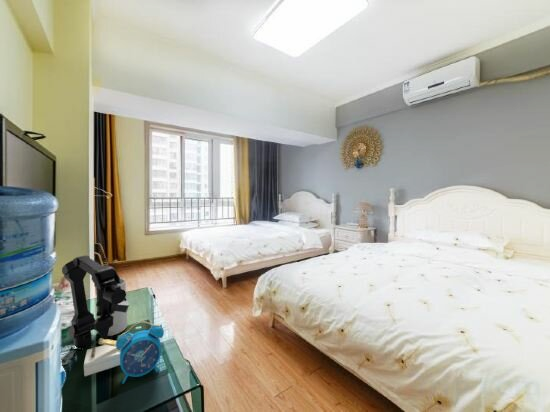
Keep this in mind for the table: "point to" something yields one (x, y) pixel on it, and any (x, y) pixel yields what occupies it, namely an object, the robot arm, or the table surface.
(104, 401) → the table surface
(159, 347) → the alarm clock
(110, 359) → the box
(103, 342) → the brass clasp lever
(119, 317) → the cylinder vase
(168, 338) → the table surface
